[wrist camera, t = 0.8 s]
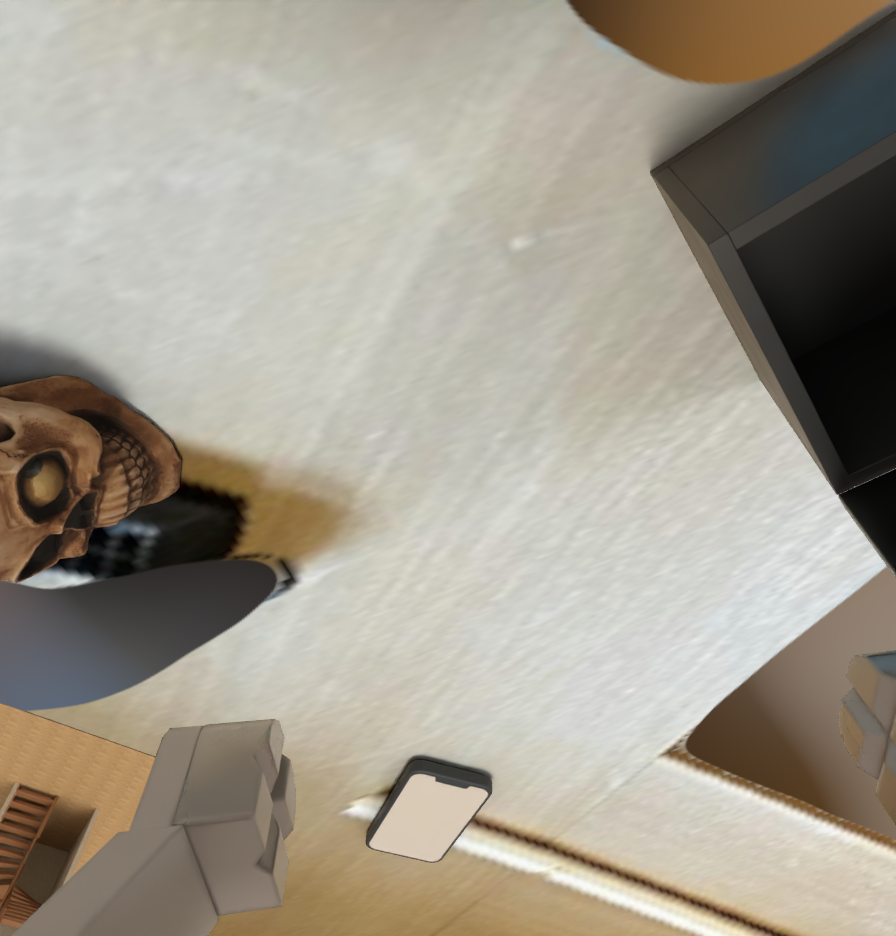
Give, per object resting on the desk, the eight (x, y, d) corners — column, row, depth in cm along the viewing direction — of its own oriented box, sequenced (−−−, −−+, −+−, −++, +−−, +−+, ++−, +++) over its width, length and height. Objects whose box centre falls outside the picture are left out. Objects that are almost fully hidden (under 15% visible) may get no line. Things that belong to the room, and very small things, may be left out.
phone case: (439, 851, 83) (497, 774, 74) (439, 866, 82) (497, 790, 73) (363, 833, 81) (412, 753, 72) (361, 848, 80) (410, 768, 71)
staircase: (100, 808, 79) (23, 988, 66) (71, 854, 85) (-6, 1029, 71) (16, 781, 77) (-82, 962, 63) (-9, 830, 82) (-104, 1006, 69)
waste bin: (649, 172, 42) (707, 245, 32) (915, -4, 37) (1086, 16, 27) (760, 380, 49) (837, 495, 39) (996, 257, 44) (1154, 351, 34)
